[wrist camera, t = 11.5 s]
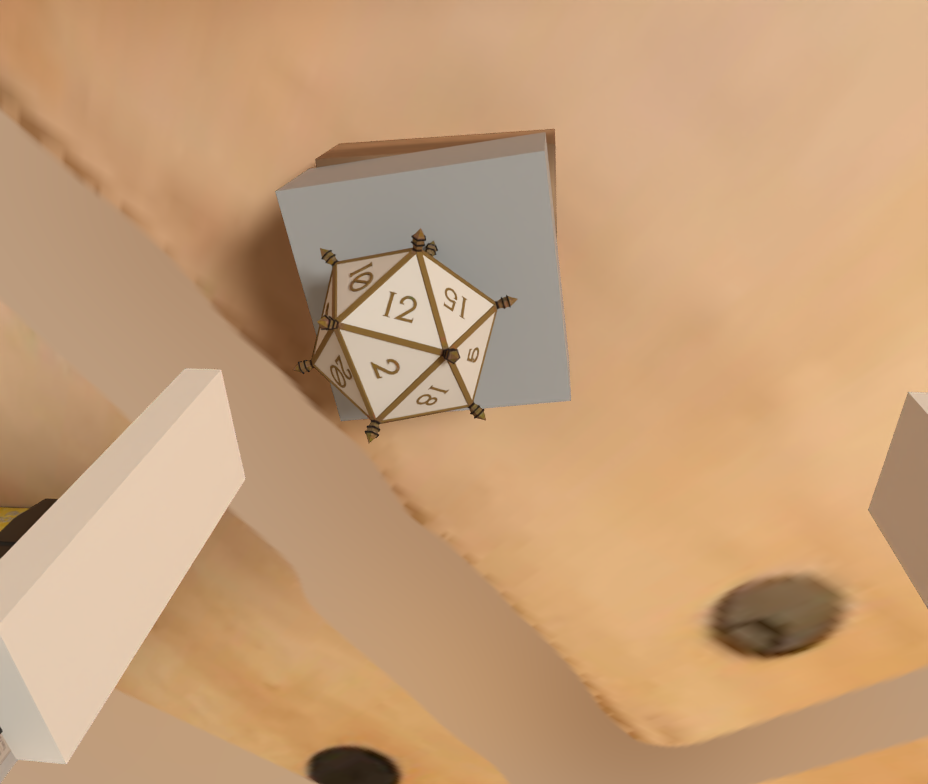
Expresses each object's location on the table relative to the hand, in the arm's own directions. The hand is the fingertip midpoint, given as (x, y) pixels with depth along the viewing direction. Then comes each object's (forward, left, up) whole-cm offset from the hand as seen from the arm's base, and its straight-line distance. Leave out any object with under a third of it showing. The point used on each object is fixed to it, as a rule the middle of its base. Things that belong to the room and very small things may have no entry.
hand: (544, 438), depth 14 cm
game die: (+4, -6, -19) cm, 20 cm away
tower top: (+4, -5, -24) cm, 25 cm away
